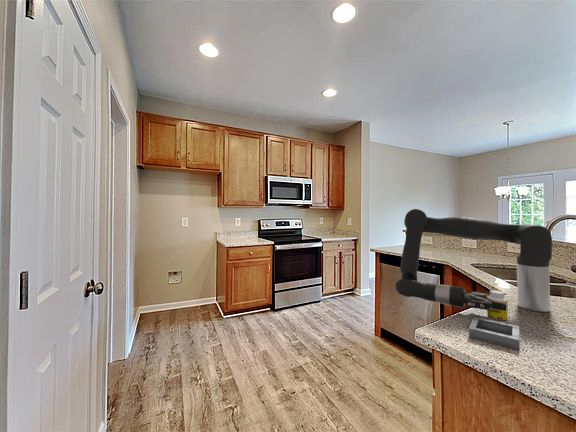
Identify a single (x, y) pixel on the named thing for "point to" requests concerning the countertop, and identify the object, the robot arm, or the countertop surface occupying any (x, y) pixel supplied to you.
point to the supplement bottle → (495, 313)
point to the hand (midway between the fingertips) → (506, 305)
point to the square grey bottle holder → (494, 337)
